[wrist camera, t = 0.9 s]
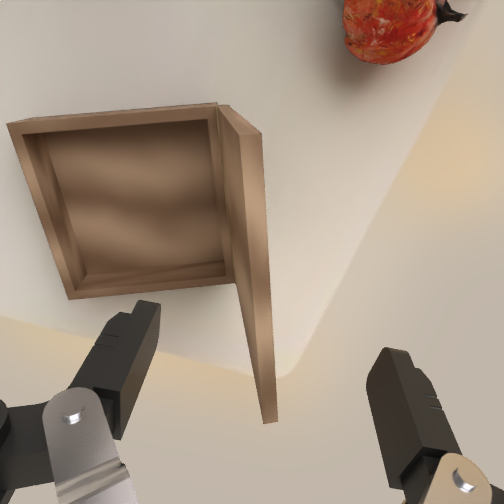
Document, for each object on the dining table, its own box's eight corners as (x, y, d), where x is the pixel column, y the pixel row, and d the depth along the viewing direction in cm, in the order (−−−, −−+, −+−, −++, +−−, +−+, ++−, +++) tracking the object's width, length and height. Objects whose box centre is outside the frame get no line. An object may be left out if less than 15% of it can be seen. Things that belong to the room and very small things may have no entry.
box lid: (236, 135, 13) (264, 133, 13) (215, 105, 27) (228, 104, 27) (261, 424, 19) (279, 421, 19) (234, 280, 33) (244, 278, 33)
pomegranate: (313, 55, 31) (420, 104, 27) (285, 1, 24) (421, 57, 21) (364, -34, 29) (484, 7, 26) (348, -118, 22) (509, -78, 19)
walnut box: (32, 117, 29) (5, 123, 26) (217, 102, 30) (217, 105, 26) (83, 277, 36) (68, 299, 32) (234, 262, 36) (235, 282, 33)
